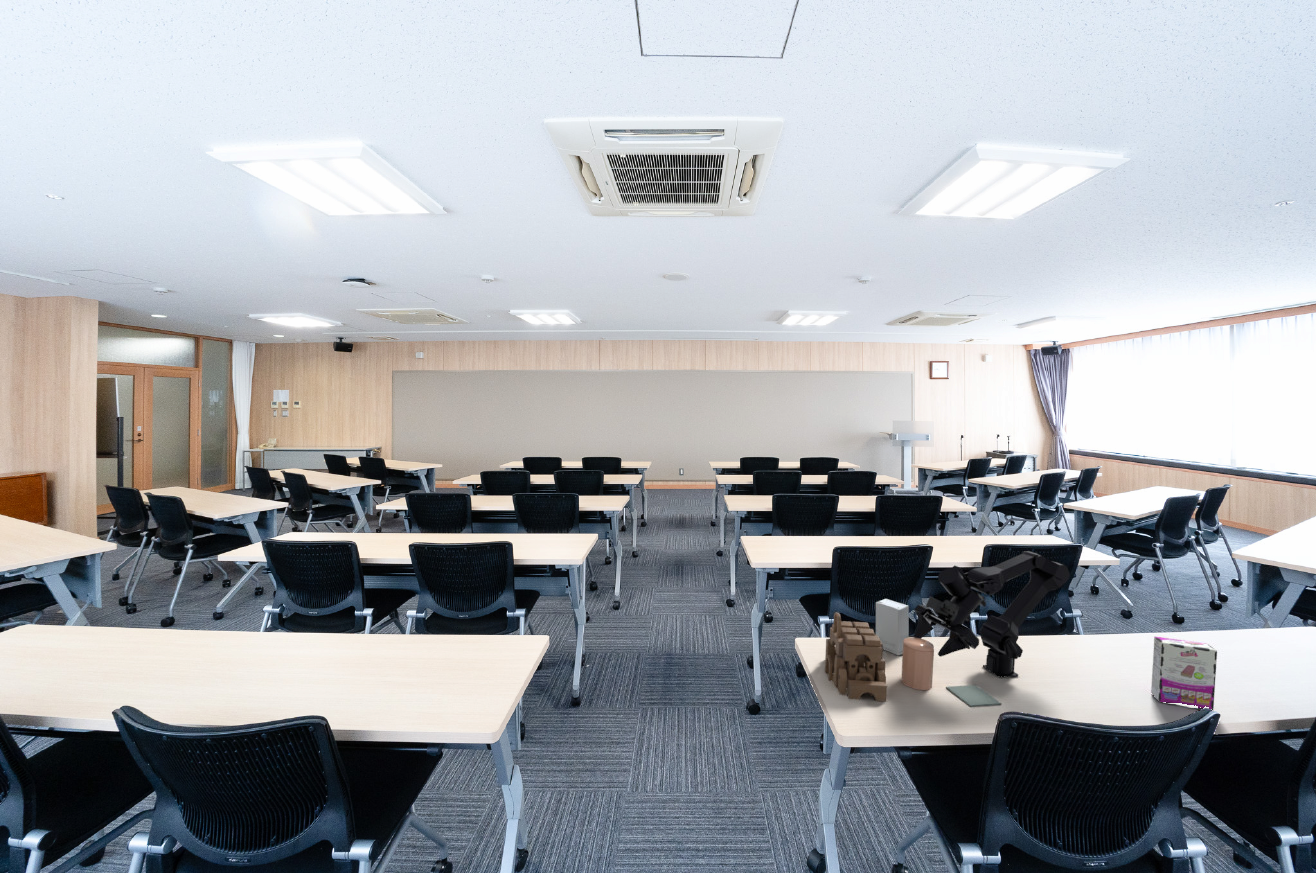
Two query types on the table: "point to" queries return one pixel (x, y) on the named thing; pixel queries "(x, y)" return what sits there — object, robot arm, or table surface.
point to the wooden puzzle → (855, 660)
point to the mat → (973, 695)
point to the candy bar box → (1184, 672)
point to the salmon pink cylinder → (917, 663)
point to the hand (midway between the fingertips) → (926, 647)
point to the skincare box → (892, 625)
